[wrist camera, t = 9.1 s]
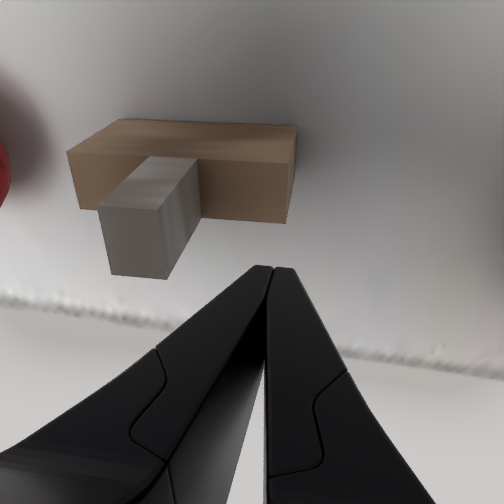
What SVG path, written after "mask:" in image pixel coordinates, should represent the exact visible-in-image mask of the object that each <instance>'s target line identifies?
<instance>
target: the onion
mask: <svg viewBox="0 0 504 504" xmlns="http://www.w3.org/2000/svg"><path fill="white" fill-rule="evenodd" d="M10 183H11V175H10V166H9V157H8V155H7V153H6V151H5V149H4V147H3V145H2V143H1V141H0V207H1V205H2V203H3V201H4V199H5V198H6V196H7V194H8V190H9V187H10Z"/></svg>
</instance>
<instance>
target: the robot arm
mask: <svg viewBox="0 0 504 504" xmlns="http://www.w3.org/2000/svg"><path fill="white" fill-rule="evenodd" d="M263 369H264V484H263V485H264V486H263V489H264V490H263V498H264V499H263V504H436V503H435V502H434V500H433V499H432V498H431V496H430V495H429V493H428V492H427V491H426V489H425V488H424V486H423V485H422V484H421V482H420V481H419V480H418V478H417V477H416V475H415V474H414V473H413V471H412V470H411V468H410V467H409V465H408V464H407V463H406V461H405V460H404V458H403V457H402V456H401V454H400V453H399V451H398V450H397V449H396V447H395V446H394V444H393V443H392V441H391V440H390V439H389V437H388V436H387V434H386V433H385V431H384V430H383V428H382V427H381V426H380V424H379V422H378V421H377V420H376V418H375V417H374V415H373V414H372V412H371V411H370V409H369V407H368V406H367V404H366V402H365V400H364V398H363V397H362V395H361V393H360V392H359V390H358V388H357V386H356V384H355V383H354V381H353V379H352V377H351V375H350V373H349V372H348V371H347V368H346V366H345V364H344V362H343V360H342V358H341V356H340V354H339V353H338V351H337V349H336V347H335V345H334V343H333V341H332V339H331V337H330V336H329V334H328V332H327V330H326V328H325V326H324V324H323V322H322V320H321V319H320V317H319V315H318V313H317V311H316V309H315V307H314V305H313V303H312V302H311V300H310V298H309V296H308V294H307V292H306V290H305V288H304V286H303V285H302V283H301V281H300V279H299V277H298V275H297V273H296V271H295V270H294V269H293V268H285V267H276V268H275V269H274V268H273V267H271V266H262V265H255V266H253V267H252V268H250V269H249V270H248V271H247V272H246V273H244V274H243V275H242V276H241V277H239V278H238V279H237V280H236V281H235V282H233V283H232V284H231V285H230V286H228V287H227V288H226V289H225V290H224V291H222V292H221V293H220V294H219V295H218V296H216V297H215V298H214V299H213V300H211V301H210V302H209V303H208V304H207V305H205V306H204V307H203V308H202V309H200V310H199V311H198V312H197V313H196V314H194V315H193V316H192V317H191V318H189V319H188V320H187V321H186V322H185V323H183V324H182V325H181V326H180V327H178V328H177V329H176V330H175V331H174V332H172V333H171V334H170V335H169V336H168V337H166V338H165V339H164V340H163V341H161V342H160V343H159V344H158V345H156V347H155V348H153V349H151V350H150V351H149V352H148V353H146V354H145V355H144V356H143V357H142V358H140V359H139V360H138V361H137V362H135V363H134V364H133V365H131V366H130V367H129V368H128V369H126V370H125V371H124V372H122V373H121V374H120V375H118V376H117V377H116V378H114V379H113V380H112V381H110V382H109V383H107V384H106V385H104V386H103V387H101V388H100V389H99V390H97V391H96V392H94V393H93V394H91V395H90V396H88V397H87V398H85V399H84V400H83V401H81V402H79V403H78V404H76V405H75V406H73V407H72V408H70V409H69V410H67V411H66V412H64V413H63V414H61V415H60V416H58V417H57V418H55V419H54V420H52V421H51V422H49V423H48V424H46V425H45V426H43V427H42V428H40V429H39V430H37V431H36V432H34V433H33V434H31V435H30V436H28V437H27V438H26V439H24V440H22V441H21V442H19V443H17V444H16V445H14V446H12V447H10V448H9V449H7V450H5V451H3V452H1V453H0V504H226V502H227V499H228V495H229V492H230V488H231V484H232V481H233V477H234V474H235V470H236V467H237V463H238V460H239V456H240V452H241V448H242V445H243V442H244V438H245V435H246V431H247V427H248V424H249V420H250V417H251V413H252V410H253V406H254V402H255V399H256V395H257V391H258V388H259V385H260V381H261V377H262V373H263Z"/></svg>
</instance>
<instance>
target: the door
mask: <svg viewBox="0 0 504 504" xmlns="http://www.w3.org/2000/svg"><path fill="white" fill-rule="evenodd" d="M296 140H297V126H282V125H258V124H233V123H209V122H184V121H159V120H135V119H118V120H117V121H115V122H114V123H112V124H110V125H109V126H107V127H105V128H104V129H102V130H101V131H99V132H97V133H96V134H94V135H93V136H91V137H89V138H88V139H86V140H84V141H83V142H81V143H80V144H78V145H76V146H75V147H73V148H72V149H70V150H68V151H67V152H66V153H67V157H68V161H69V165H70V170H71V174H72V178H73V182H74V186H75V190H76V194H77V198H78V203H79V207H80V209H86V210H98V214H99V219H100V223H101V228H102V233H103V237H104V242H105V246H106V251H107V255H108V260H109V265H110V269H111V274H112V275H120V276H131V277H142V278H153V279H163V280H167V278H168V277H169V275H170V273H171V271H172V270H173V268H174V266H175V264H176V262H177V261H178V259H179V257H180V255H181V253H182V252H183V250H184V248H185V246H186V245H187V243H188V241H189V239H190V237H191V236H192V234H193V232H194V230H195V229H196V227H197V225H198V223H199V221H200V220H201V218H212V219H225V220H239V221H253V222H267V223H281V224H286V219H287V214H288V208H289V203H290V198H291V193H292V187H293V182H294V177H295V159H296Z"/></svg>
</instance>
